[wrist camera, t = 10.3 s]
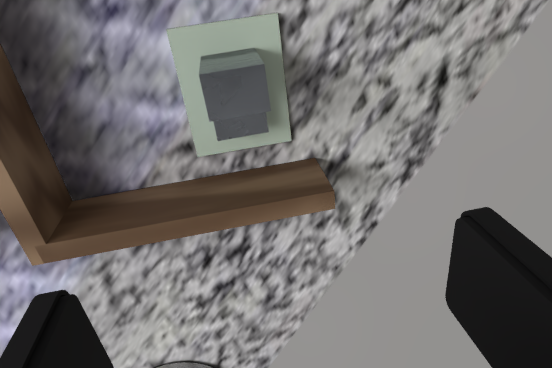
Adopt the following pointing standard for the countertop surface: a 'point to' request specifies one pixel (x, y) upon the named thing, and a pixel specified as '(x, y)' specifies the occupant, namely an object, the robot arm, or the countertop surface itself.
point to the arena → (132, 195)
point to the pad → (227, 38)
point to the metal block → (235, 93)
